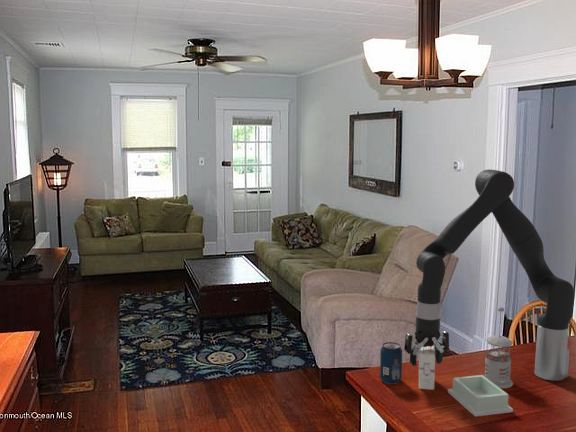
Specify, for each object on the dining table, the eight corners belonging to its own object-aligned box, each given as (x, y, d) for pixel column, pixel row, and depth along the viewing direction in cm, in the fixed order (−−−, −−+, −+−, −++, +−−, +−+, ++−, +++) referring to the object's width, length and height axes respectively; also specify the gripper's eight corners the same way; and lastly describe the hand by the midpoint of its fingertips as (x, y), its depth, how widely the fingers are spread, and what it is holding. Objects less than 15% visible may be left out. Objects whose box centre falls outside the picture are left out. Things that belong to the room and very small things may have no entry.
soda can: (386, 374, 194) (387, 339, 192) (405, 379, 190) (406, 344, 188) (375, 381, 189) (376, 345, 187) (394, 387, 185) (395, 350, 183)
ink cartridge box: (417, 377, 191) (419, 335, 189) (433, 379, 190) (434, 336, 188) (418, 389, 183) (419, 344, 181) (434, 390, 182) (436, 345, 180)
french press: (475, 382, 188) (479, 307, 184) (491, 371, 197) (494, 299, 193) (505, 391, 181) (510, 313, 178) (520, 379, 190) (524, 305, 186)
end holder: (482, 388, 183) (483, 373, 183) (512, 412, 168) (513, 395, 167) (447, 392, 181) (448, 376, 180) (475, 416, 165) (475, 399, 165)
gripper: (443, 310, 189) (440, 357, 191) (402, 312, 185) (400, 361, 188) (454, 317, 181) (452, 366, 184) (412, 320, 178) (410, 370, 180)
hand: (426, 363), depth 186 cm, fingers open, 8 cm apart
